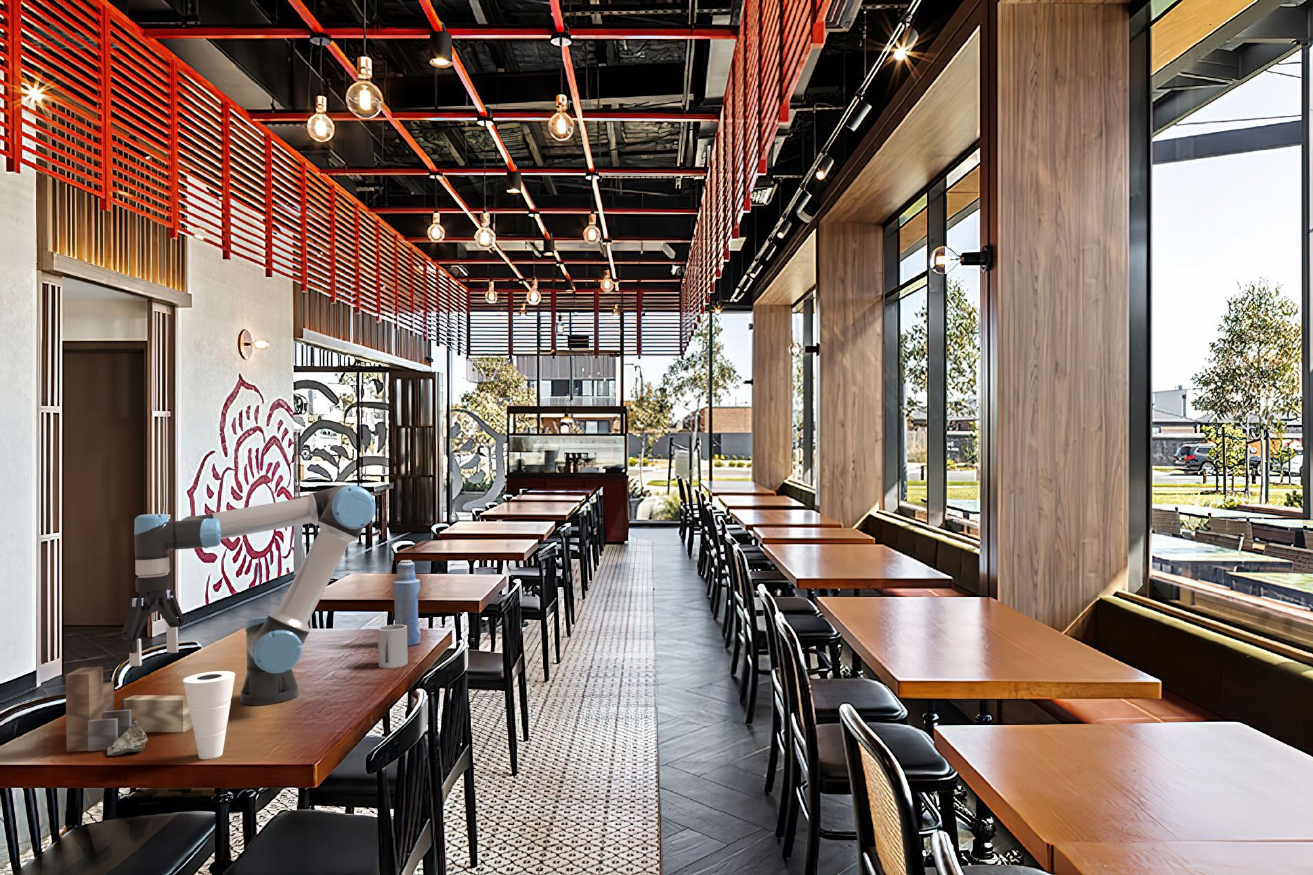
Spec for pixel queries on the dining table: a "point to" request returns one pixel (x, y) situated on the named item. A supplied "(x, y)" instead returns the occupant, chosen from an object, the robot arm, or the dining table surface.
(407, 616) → the bottle
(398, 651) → the cup
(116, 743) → the rock sample
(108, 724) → the post
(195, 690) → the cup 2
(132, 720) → the rail
